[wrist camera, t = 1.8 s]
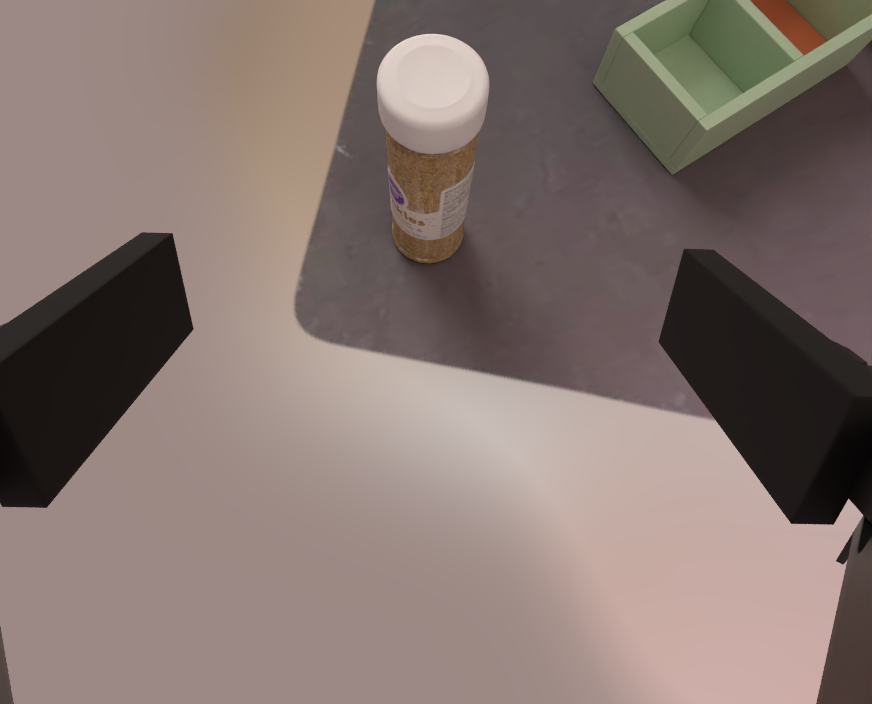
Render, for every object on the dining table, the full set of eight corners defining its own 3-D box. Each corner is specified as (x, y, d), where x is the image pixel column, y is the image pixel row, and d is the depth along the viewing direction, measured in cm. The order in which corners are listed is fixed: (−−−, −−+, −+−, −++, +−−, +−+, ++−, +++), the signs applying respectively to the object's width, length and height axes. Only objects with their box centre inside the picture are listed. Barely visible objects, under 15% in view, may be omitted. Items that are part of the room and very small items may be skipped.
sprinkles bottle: (377, 232, 34) (351, 73, 21) (428, 187, 35) (433, 9, 22) (428, 280, 34) (432, 147, 21) (479, 234, 34) (515, 77, 21)
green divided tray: (592, 83, 38) (615, 28, 33) (765, -18, 40) (808, -81, 36) (671, 175, 36) (707, 130, 31) (847, 64, 38) (902, 8, 34)
